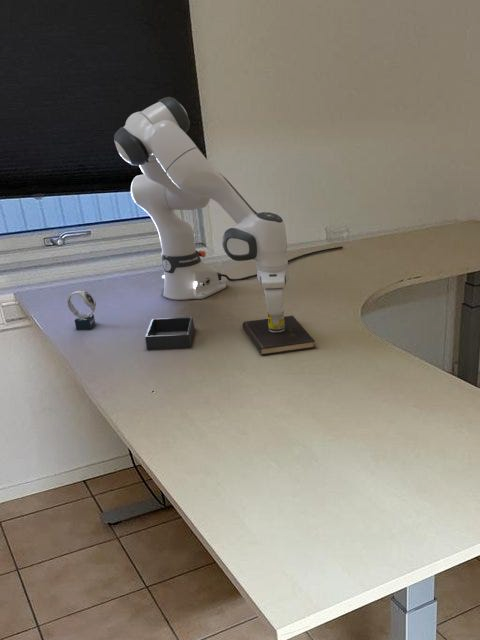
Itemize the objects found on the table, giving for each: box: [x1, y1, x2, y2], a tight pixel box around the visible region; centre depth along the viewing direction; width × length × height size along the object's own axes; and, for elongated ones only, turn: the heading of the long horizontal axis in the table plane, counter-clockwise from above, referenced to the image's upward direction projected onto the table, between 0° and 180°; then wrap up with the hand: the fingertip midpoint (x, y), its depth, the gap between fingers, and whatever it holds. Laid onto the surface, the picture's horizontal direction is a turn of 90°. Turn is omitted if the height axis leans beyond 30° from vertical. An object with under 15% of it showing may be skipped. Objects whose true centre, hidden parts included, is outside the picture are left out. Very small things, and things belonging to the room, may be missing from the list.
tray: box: [144, 316, 195, 351], centre depth 220 cm, size 15×12×4 cm
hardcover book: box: [242, 315, 316, 357], centre depth 220 cm, size 16×23×2 cm
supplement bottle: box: [266, 307, 285, 333], centre depth 217 cm, size 5×5×8 cm
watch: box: [66, 290, 97, 331], centre depth 228 cm, size 6×8×11 cm
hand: (276, 320), depth 218 cm, fingers closed on supplement bottle, 5 cm apart
